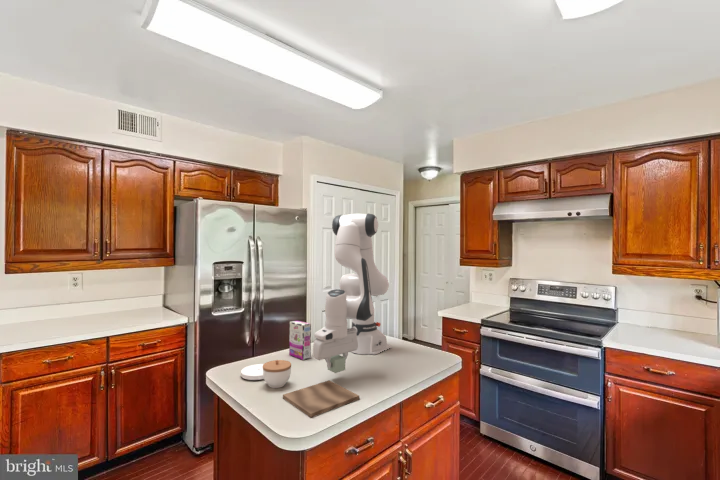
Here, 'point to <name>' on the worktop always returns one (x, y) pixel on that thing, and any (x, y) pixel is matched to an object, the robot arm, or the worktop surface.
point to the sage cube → (337, 364)
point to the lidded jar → (276, 373)
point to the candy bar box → (300, 340)
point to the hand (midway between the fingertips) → (336, 365)
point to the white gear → (253, 372)
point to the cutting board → (320, 398)
